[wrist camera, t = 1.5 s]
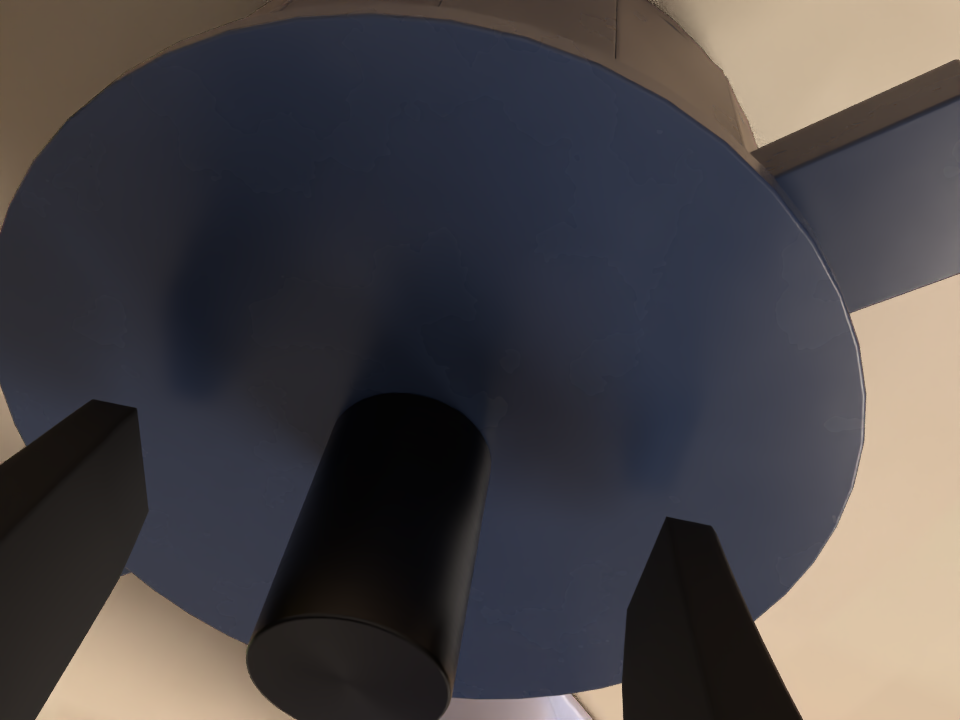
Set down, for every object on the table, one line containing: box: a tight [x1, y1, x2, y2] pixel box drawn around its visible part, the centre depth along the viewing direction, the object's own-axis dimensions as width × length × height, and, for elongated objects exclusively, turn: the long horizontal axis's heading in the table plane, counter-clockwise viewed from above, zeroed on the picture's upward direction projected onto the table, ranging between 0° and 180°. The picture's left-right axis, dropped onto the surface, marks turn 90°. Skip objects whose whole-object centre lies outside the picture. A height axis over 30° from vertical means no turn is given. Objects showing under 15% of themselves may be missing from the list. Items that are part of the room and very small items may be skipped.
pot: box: [121, 0, 960, 576], centre depth 16 cm, size 12×17×6 cm
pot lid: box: [0, 2, 866, 720], centre depth 12 cm, size 13×13×5 cm
